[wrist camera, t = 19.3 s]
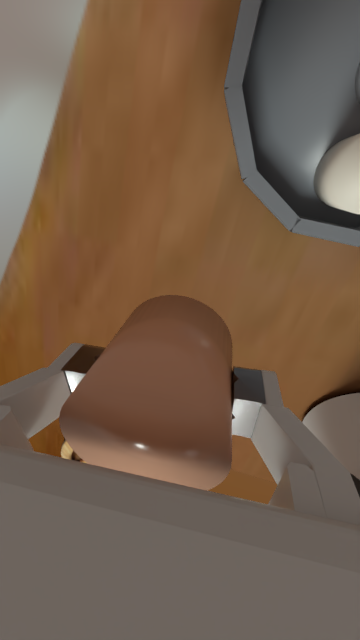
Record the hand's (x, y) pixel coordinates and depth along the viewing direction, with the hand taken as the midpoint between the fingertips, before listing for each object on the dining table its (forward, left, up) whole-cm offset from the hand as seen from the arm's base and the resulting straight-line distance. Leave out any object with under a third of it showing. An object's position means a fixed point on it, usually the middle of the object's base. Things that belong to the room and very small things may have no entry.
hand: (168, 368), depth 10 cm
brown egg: (0, 0, -2) cm, 2 cm away
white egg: (-10, -9, -18) cm, 22 cm away
